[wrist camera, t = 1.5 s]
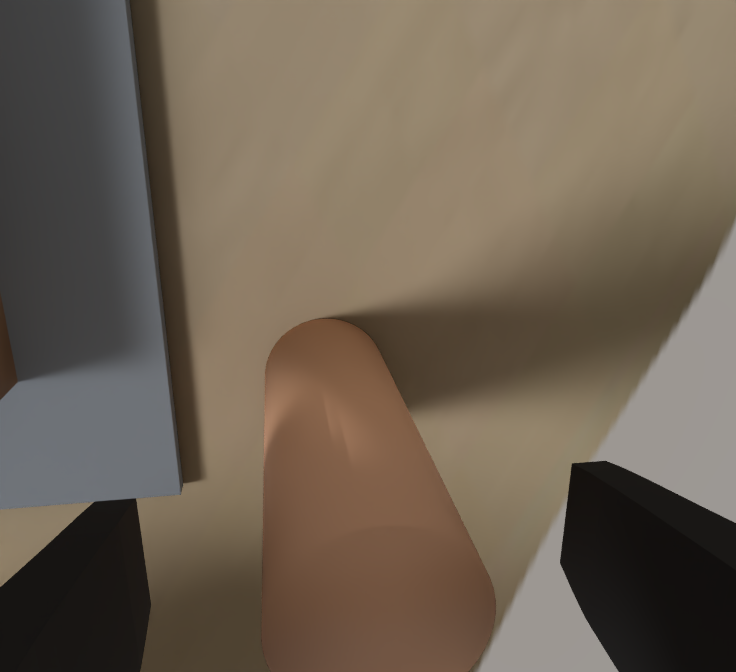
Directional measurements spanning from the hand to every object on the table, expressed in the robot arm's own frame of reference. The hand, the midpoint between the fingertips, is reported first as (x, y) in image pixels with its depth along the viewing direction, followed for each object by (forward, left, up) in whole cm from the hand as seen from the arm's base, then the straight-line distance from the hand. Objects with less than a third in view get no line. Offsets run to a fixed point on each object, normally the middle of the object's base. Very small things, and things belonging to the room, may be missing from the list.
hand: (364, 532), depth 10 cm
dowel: (0, 0, -7) cm, 7 cm away
